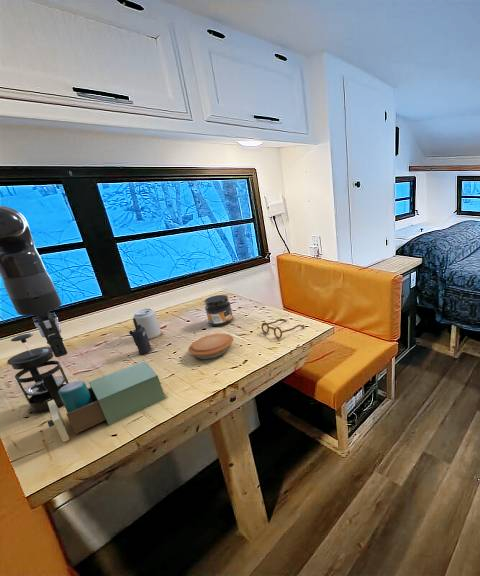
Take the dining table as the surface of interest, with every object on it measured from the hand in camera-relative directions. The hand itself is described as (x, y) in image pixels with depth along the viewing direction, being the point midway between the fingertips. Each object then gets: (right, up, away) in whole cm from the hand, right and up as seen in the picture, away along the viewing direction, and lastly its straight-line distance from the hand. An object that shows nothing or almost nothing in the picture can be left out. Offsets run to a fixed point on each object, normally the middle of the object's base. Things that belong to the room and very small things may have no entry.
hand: (59, 350), depth 79 cm
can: (-17, -5, +53) cm, 56 cm away
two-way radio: (-10, -9, +41) cm, 43 cm away
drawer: (+1, -21, +6) cm, 22 cm away
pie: (+18, -9, +40) cm, 45 cm away
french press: (-17, -19, +14) cm, 29 cm away
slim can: (+1, -20, +6) cm, 20 cm away
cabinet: (+8, -19, +14) cm, 24 cm away
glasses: (+40, -3, +55) cm, 68 cm away
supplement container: (+8, 0, +64) cm, 65 cm away
